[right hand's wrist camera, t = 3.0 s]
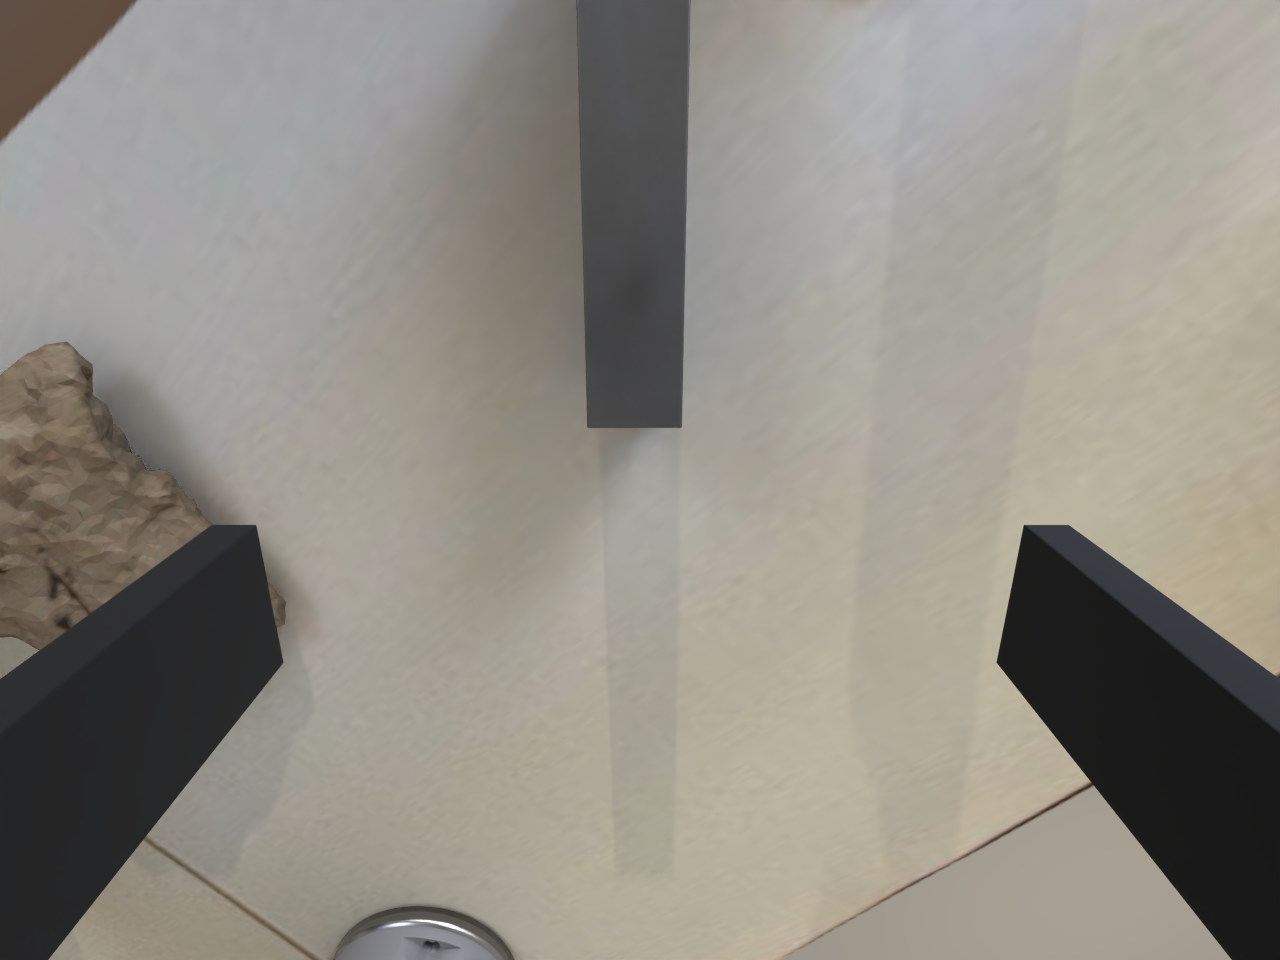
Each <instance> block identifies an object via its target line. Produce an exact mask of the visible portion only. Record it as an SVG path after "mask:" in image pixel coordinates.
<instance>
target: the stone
mask: <svg viewBox="0 0 1280 960" xmlns="http://www.w3.org/2000/svg"><path fill="white" fill-rule="evenodd" d="M92 374H93V368H92V364H91V363H90V362H89V361H87V360H86V359H85V358H84V357H82V356H81V355H80V354H79V353H78V352H77V351H76V350H75V348H74V347H72V346H71V345H70V344H69V343H68V342H63V343H55V344H48V345H44V346H43V347H41V348H39V349H38V350H36V351H33V352H31V353H28V354H26V355H25V356H23V357H22V358H21V359H19V360H18V361H17V362H16V363H15V364H13V365H12V366H11V367H10V368H8V369H7V370H6V371H4V372H3V373H2V374H1V375H0V637H14V638H18V639H20V640H23V641H25V642H26V643H28V644H29V645H31V646H33V647H34V648H36V649H38V650H41V649H42V648H44V647H45V646H47V645H48V644H49V643H51V642H52V641H53V640H55V639H56V638H57V637H59V636H60V635H62V634H63V633H64V632H66V631H67V630H68V629H70V628H71V627H73V626H74V625H75V624H77V623H78V622H79V621H81V620H82V619H83V618H85V617H86V616H88V615H89V614H90V613H92V612H93V611H94V610H96V609H97V608H99V607H100V606H101V605H103V604H104V603H105V602H107V601H108V600H109V599H111V598H112V597H114V596H115V595H116V594H118V593H119V592H120V591H122V590H123V589H125V588H126V587H127V586H129V585H130V584H131V583H133V582H134V581H136V580H137V579H138V578H140V577H141V576H142V575H144V574H145V573H146V572H148V571H149V570H151V569H152V568H153V567H155V566H156V565H157V564H159V563H160V562H162V561H163V560H164V559H166V558H167V557H168V556H170V555H171V554H172V553H174V552H175V551H177V550H178V549H179V548H181V547H182V546H183V545H185V544H186V543H188V542H189V541H190V540H192V539H193V538H194V537H196V536H197V535H198V534H200V533H201V532H203V531H204V530H205V529H207V528H208V527H209V526H211V525H212V524H211V523H210V522H209V521H208V520H207V519H206V518H205V517H204V516H203V515H202V514H201V512H200V511H199V509H198V508H197V505H196V502H195V501H193V500H192V499H191V498H190V497H188V496H187V495H186V494H185V493H184V491H183V490H182V489H181V488H180V487H179V486H178V484H177V481H176V480H175V479H174V478H173V477H172V476H171V475H170V474H169V473H168V472H167V471H165V470H151V471H148V470H146V468H145V466H144V464H143V463H142V461H141V459H139V458H138V457H137V456H136V455H134V454H132V453H130V451H131V450H130V448H129V445H128V442H127V439H126V437H125V435H124V433H123V432H122V431H121V429H120V428H119V427H117V426H115V425H113V421H112V416H111V415H110V412H109V410H108V408H107V405H106V404H105V403H103V402H102V401H100V400H99V399H97V398H96V397H94V395H93V394H92V392H93V383H92ZM267 583H268V582H267ZM268 588H269V593H270V598H271V603H272V608H273V613H274V618H275V623H276V627H278V626H281V625H283V624H284V623H285V603H286V601H285V600H284V599H283V598H282V597H281V596H280V595H278V593H277V592H276V590H275V589H274V587H273V586H272V585H270V584H269V583H268Z"/></svg>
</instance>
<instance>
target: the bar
mask: <svg viewBox="0 0 1280 960" xmlns="http://www.w3.org/2000/svg"><path fill="white" fill-rule="evenodd" d="M577 38H578V77H579V117H580V156H581V195H582V235H583V274H584V314H585V353H586V392H587V427H588V428H681V427H682V391H683V342H684V292H685V243H686V193H687V143H688V94H689V44H690V0H577Z"/></svg>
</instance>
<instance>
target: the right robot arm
mask: <svg viewBox="0 0 1280 960" xmlns="http://www.w3.org/2000/svg"><path fill="white" fill-rule="evenodd" d="M282 664H283V658H282V653H281V648H280V643H279V638H278V633H277V628H276V623H275V618H274V613H273V608H272V603H271V598H270V593H269V588H268V583H267V578H266V573H265V568H264V563H263V557H262V552H261V547H260V542H259V537H258V532H257V527H256V525H211V526H209V527H208V528H207V529H205V530H204V531H203V532H201V533H200V534H198V535H197V536H196V537H194V538H193V539H192V540H190V541H189V542H188V543H186V544H185V545H183V546H182V547H181V548H179V549H178V550H177V551H175V552H174V553H172V554H171V555H170V556H168V557H167V558H166V559H164V560H163V561H162V562H160V563H159V564H157V565H156V566H155V567H153V568H152V569H151V570H149V571H148V572H146V573H145V574H144V575H142V576H141V577H140V578H138V579H137V580H136V581H134V582H133V583H131V584H130V585H129V586H127V587H126V588H125V589H123V590H122V591H120V592H119V593H118V594H116V595H115V596H114V597H112V598H111V599H109V600H108V601H107V602H105V603H104V604H103V605H101V606H100V607H99V608H97V609H96V610H94V611H93V612H92V613H90V614H89V615H88V616H86V617H85V618H83V619H82V620H81V621H79V622H78V623H77V624H75V625H74V626H73V627H71V628H70V629H68V630H67V631H66V632H64V633H63V634H62V635H60V636H59V637H57V638H56V639H55V640H53V641H52V642H51V643H49V644H48V645H47V646H45V647H44V648H42V649H41V650H40V651H38V652H37V653H36V654H34V655H33V656H31V657H30V658H29V659H27V660H26V661H25V662H23V663H22V664H20V665H19V666H18V667H16V668H15V669H14V670H12V671H11V672H10V673H8V674H7V675H5V676H4V677H3V678H1V679H0V960H48V959H49V958H50V957H51V955H52V954H53V953H54V952H55V950H56V949H57V948H58V947H59V945H60V944H61V943H62V942H63V940H64V939H65V938H66V936H67V935H68V934H69V933H70V931H71V930H72V929H73V928H74V926H75V925H76V924H77V923H78V921H79V920H80V919H81V918H82V916H83V915H84V914H85V912H86V911H87V910H88V909H89V907H90V906H91V905H92V904H93V902H94V901H95V900H96V899H97V897H98V896H99V895H100V894H101V892H102V891H103V890H104V888H105V887H106V886H107V885H108V883H109V882H110V881H111V880H112V878H113V877H114V876H115V875H116V873H117V872H118V871H119V870H120V868H121V867H122V866H123V864H124V863H125V862H126V861H127V859H128V858H129V857H130V856H131V854H132V853H133V852H134V851H135V849H136V848H137V847H138V846H139V844H140V843H141V842H142V840H143V839H144V838H145V837H146V835H147V834H148V833H149V832H150V830H151V829H152V828H153V827H154V825H155V824H156V823H157V822H158V820H159V819H160V818H161V816H162V815H163V814H164V813H165V811H166V810H167V809H168V808H169V806H170V805H171V804H172V803H173V801H174V800H175V799H176V798H177V796H178V795H179V794H180V792H181V791H182V790H183V789H184V787H185V786H186V785H187V784H188V782H189V781H190V780H191V779H192V777H193V776H194V775H195V774H196V772H197V771H198V770H199V768H200V767H201V766H202V765H203V763H204V762H205V761H206V760H207V758H208V757H209V756H210V755H211V753H212V752H213V751H214V750H215V748H216V747H217V746H218V744H219V743H220V742H221V741H222V739H223V738H224V737H225V736H226V734H227V733H228V732H229V731H230V729H231V728H232V727H233V726H234V724H235V723H236V722H237V720H238V719H239V718H240V717H241V715H242V714H243V713H244V712H245V710H246V709H247V708H248V707H249V705H250V704H251V703H252V702H253V700H254V699H255V698H256V696H257V695H258V694H259V693H260V691H261V690H262V689H263V688H264V686H265V685H266V684H267V683H268V681H269V680H270V679H271V678H272V676H273V675H274V674H275V672H276V671H277V670H278V669H279V667H280V666H281V665H282ZM997 664H998V665H999V666H1000V667H1001V669H1002V670H1003V671H1004V672H1005V674H1006V675H1007V676H1008V678H1009V679H1010V680H1011V681H1012V683H1013V684H1014V685H1015V686H1016V688H1017V689H1018V690H1019V691H1020V693H1021V694H1022V695H1023V696H1024V698H1025V699H1026V700H1027V702H1028V703H1029V704H1030V705H1031V707H1032V708H1033V709H1034V710H1035V712H1036V713H1037V714H1038V715H1039V717H1040V718H1041V719H1042V720H1043V722H1044V723H1045V724H1046V726H1047V727H1048V728H1049V729H1050V731H1051V732H1052V733H1053V734H1054V736H1055V737H1056V738H1057V739H1058V741H1059V742H1060V743H1061V744H1062V746H1063V747H1064V748H1065V750H1066V751H1067V752H1068V753H1069V755H1070V756H1071V757H1072V758H1073V760H1074V761H1075V762H1076V763H1077V765H1078V766H1079V767H1080V768H1081V770H1082V771H1083V772H1084V774H1085V775H1086V776H1087V777H1088V779H1089V780H1090V781H1091V782H1092V784H1093V785H1094V786H1095V787H1096V789H1097V790H1098V791H1099V792H1100V794H1101V795H1102V796H1103V798H1104V799H1105V800H1106V801H1107V803H1108V804H1109V805H1110V806H1111V808H1112V809H1113V810H1114V811H1115V813H1116V814H1117V815H1118V816H1119V818H1120V819H1121V820H1122V822H1123V823H1124V824H1125V825H1126V827H1127V828H1128V829H1129V830H1130V832H1131V833H1132V834H1133V835H1134V837H1135V838H1136V839H1137V840H1138V842H1139V843H1140V844H1141V845H1142V847H1143V848H1144V849H1145V851H1146V852H1147V853H1148V854H1149V856H1150V857H1151V858H1152V859H1153V861H1154V862H1155V863H1156V864H1157V866H1158V867H1159V868H1160V869H1161V871H1162V872H1163V873H1164V875H1165V876H1166V877H1167V878H1168V880H1169V881H1170V882H1171V883H1172V885H1173V886H1174V887H1175V888H1176V890H1177V891H1178V892H1179V893H1180V895H1181V896H1182V897H1183V899H1184V900H1185V901H1186V902H1187V904H1188V905H1189V906H1190V907H1191V909H1192V910H1193V911H1194V912H1195V914H1196V915H1197V916H1198V918H1199V919H1200V920H1201V921H1202V923H1203V924H1204V925H1205V926H1206V928H1207V929H1208V930H1209V931H1210V933H1211V934H1212V935H1213V936H1214V938H1215V939H1216V940H1217V941H1218V943H1219V944H1220V945H1221V947H1222V948H1223V949H1224V950H1225V952H1226V953H1227V954H1228V955H1229V957H1230V958H1231V959H1232V960H1280V678H1277V677H1276V676H1275V675H1273V674H1272V673H1270V672H1269V671H1268V670H1266V669H1265V668H1264V667H1262V666H1261V665H1260V664H1258V663H1257V662H1255V661H1254V660H1253V659H1251V658H1250V657H1249V656H1247V655H1246V654H1244V653H1243V652H1242V651H1240V650H1239V649H1238V648H1236V647H1235V646H1233V645H1232V644H1231V643H1229V642H1228V641H1227V640H1225V639H1224V638H1223V637H1221V636H1220V635H1218V634H1217V633H1216V632H1214V631H1213V630H1212V629H1210V628H1209V627H1207V626H1206V625H1205V624H1203V623H1202V622H1201V621H1199V620H1198V619H1197V618H1195V617H1194V616H1192V615H1191V614H1190V613H1188V612H1187V611H1186V610H1184V609H1183V608H1181V607H1180V606H1179V605H1177V604H1176V603H1175V602H1173V601H1172V600H1171V599H1169V598H1168V597H1166V596H1165V595H1164V594H1162V593H1161V592H1160V591H1158V590H1157V589H1155V588H1154V587H1153V586H1151V585H1150V584H1149V583H1147V582H1146V581H1144V580H1143V579H1142V578H1140V577H1139V576H1138V575H1136V574H1135V573H1134V572H1132V571H1131V570H1129V569H1128V568H1127V567H1125V566H1124V565H1123V564H1121V563H1120V562H1118V561H1117V560H1116V559H1114V558H1113V557H1112V556H1110V555H1109V554H1108V553H1106V552H1105V551H1103V550H1102V549H1101V548H1099V547H1098V546H1097V545H1095V544H1094V543H1092V542H1091V541H1090V540H1088V539H1087V538H1086V537H1084V536H1083V535H1082V534H1080V533H1079V532H1077V531H1076V530H1075V529H1073V528H1072V527H1071V526H1069V525H1024V527H1023V532H1022V537H1021V542H1020V547H1019V552H1018V557H1017V563H1016V568H1015V573H1014V578H1013V583H1012V588H1011V593H1010V598H1009V603H1008V608H1007V613H1006V618H1005V623H1004V628H1003V633H1002V638H1001V643H1000V648H999V653H998V658H997ZM333 960H514V958H513V956H512V954H511V952H510V951H509V949H508V948H507V946H506V945H505V944H504V942H503V941H502V940H501V939H500V938H499V937H498V936H497V935H496V934H495V933H494V932H492V931H491V930H490V929H489V928H487V927H486V926H484V925H483V924H481V923H479V922H478V921H476V920H474V919H472V918H470V917H467V916H465V915H462V914H460V913H456V912H453V911H449V910H445V909H440V908H433V907H402V908H395V909H391V910H386V911H383V912H380V913H377V914H375V915H372V916H370V917H368V918H366V919H364V920H363V921H361V922H360V923H358V924H357V925H355V926H354V927H353V928H352V929H351V930H350V931H349V932H348V933H347V934H346V935H345V937H344V938H343V939H342V941H341V943H340V944H339V947H338V949H337V951H336V954H335V956H334V959H333Z"/></svg>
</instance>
